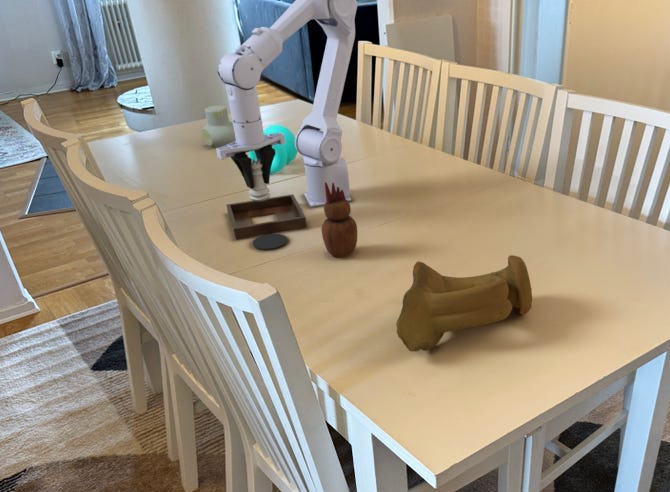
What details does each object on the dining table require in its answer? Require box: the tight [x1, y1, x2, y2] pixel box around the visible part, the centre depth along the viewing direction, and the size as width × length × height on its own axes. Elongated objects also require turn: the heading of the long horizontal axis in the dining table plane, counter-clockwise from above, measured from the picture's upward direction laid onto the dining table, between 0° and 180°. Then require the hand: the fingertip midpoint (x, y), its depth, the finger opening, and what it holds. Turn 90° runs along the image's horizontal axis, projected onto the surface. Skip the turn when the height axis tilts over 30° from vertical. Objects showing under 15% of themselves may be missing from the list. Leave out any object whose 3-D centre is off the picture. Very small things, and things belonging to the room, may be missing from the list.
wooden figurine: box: [320, 182, 358, 258], centre depth 130 cm, size 7×6×15 cm
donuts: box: [248, 124, 298, 175], centre depth 173 cm, size 10×10×10 cm
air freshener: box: [200, 104, 236, 148], centre depth 190 cm, size 11×8×10 cm
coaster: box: [252, 233, 288, 251], centre depth 140 cm, size 7×7×1 cm
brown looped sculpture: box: [396, 254, 533, 353], centre depth 108 cm, size 18×13×22 cm
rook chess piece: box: [248, 159, 271, 201], centre depth 143 cm, size 4×4×8 cm
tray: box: [226, 194, 308, 241], centre depth 148 cm, size 15×14×2 cm
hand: (258, 184), depth 144 cm, fingers closed on rook chess piece, 3 cm apart
